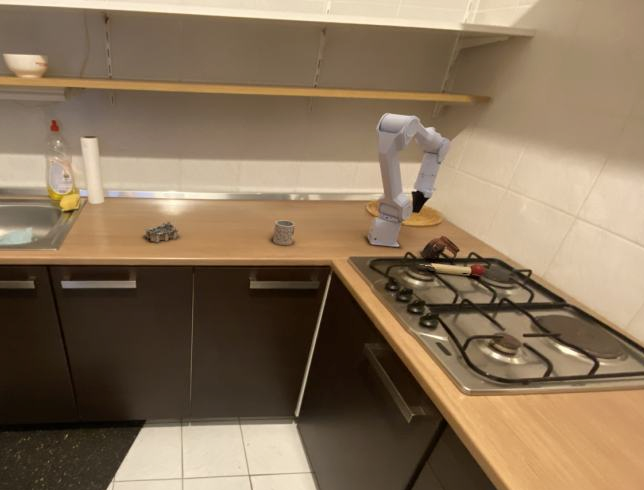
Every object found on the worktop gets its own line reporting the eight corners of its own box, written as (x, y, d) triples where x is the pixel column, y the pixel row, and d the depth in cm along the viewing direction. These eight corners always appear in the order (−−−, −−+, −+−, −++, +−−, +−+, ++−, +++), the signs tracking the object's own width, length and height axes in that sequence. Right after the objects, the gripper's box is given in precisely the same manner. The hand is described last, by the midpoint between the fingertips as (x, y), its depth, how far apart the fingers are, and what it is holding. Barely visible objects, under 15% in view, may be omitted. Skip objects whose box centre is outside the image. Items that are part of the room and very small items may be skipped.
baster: (419, 273, 117) (424, 263, 115) (417, 265, 120) (422, 255, 117) (482, 280, 115) (489, 270, 112) (478, 271, 118) (485, 262, 115)
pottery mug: (421, 250, 134) (442, 232, 129) (443, 269, 131) (464, 252, 126) (414, 251, 125) (436, 232, 120) (437, 272, 121) (460, 253, 117)
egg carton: (170, 231, 139) (170, 220, 137) (180, 238, 134) (180, 227, 132) (143, 236, 134) (143, 224, 132) (152, 243, 129) (152, 231, 127)
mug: (294, 244, 133) (297, 226, 129) (276, 245, 132) (279, 226, 128) (284, 234, 141) (287, 216, 138) (267, 234, 140) (269, 217, 137)
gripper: (447, 179, 126) (433, 219, 133) (433, 170, 138) (421, 207, 145) (424, 178, 127) (411, 217, 134) (412, 169, 139) (401, 205, 146)
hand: (415, 212), depth 139 cm, fingers closed
